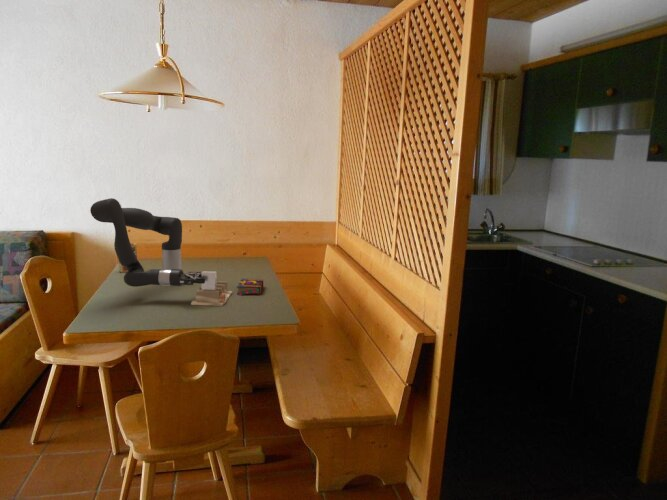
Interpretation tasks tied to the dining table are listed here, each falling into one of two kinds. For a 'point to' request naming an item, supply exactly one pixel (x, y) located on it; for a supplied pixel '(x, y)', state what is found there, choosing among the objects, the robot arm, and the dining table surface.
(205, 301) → the slot rack
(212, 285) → the aluminium block
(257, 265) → the dining table surface
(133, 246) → the candy box
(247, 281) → the decorative book
